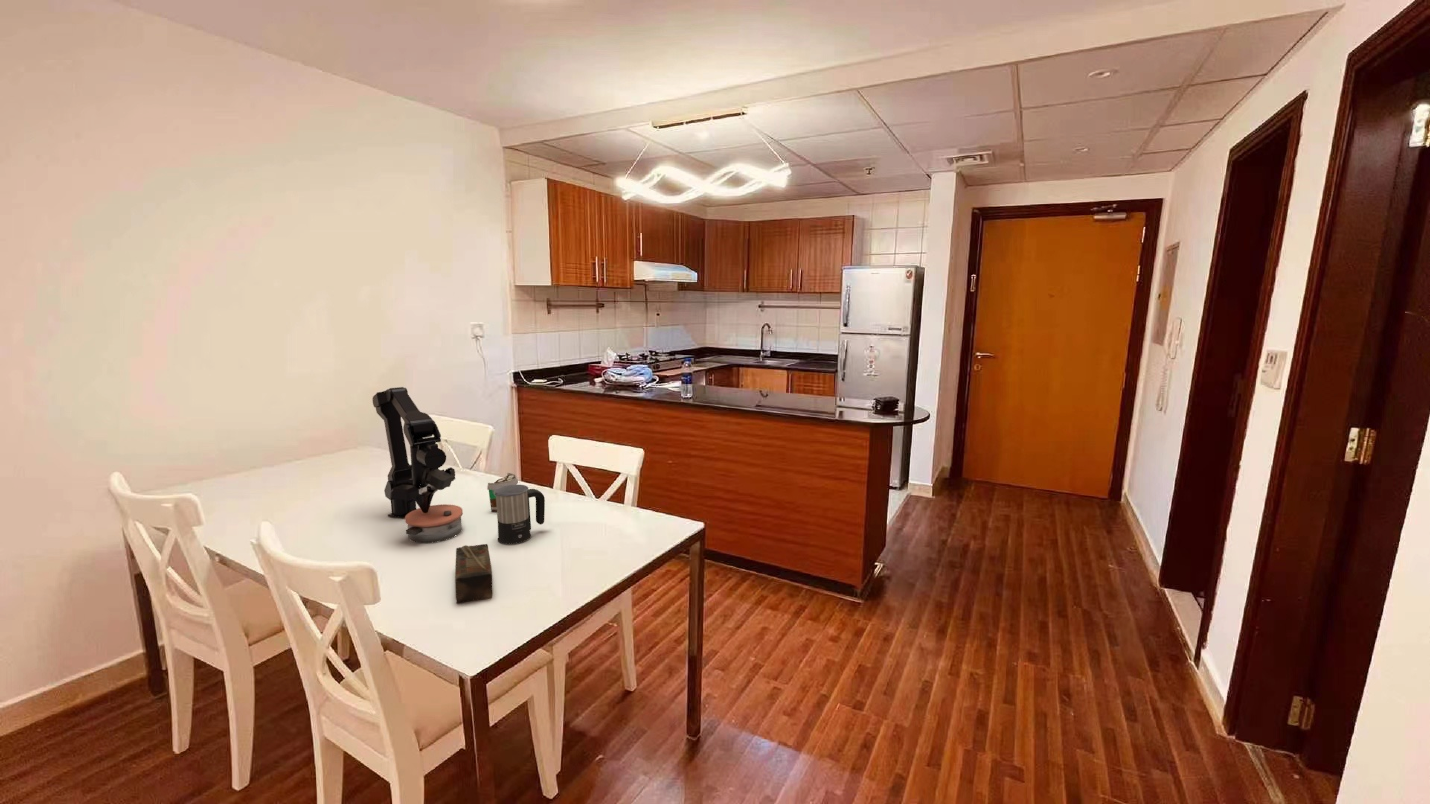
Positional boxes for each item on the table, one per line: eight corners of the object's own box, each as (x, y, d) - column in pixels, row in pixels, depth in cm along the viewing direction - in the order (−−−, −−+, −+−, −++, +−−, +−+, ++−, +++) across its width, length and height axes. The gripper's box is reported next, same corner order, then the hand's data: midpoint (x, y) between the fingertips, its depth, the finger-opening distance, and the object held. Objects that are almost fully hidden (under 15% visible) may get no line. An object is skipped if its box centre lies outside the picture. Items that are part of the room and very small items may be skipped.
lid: (392, 523, 159) (392, 517, 159) (430, 505, 174) (430, 499, 173) (438, 529, 156) (438, 522, 156) (473, 510, 170) (473, 504, 170)
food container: (506, 515, 180) (504, 485, 179) (488, 513, 181) (486, 483, 180) (526, 502, 192) (525, 473, 190) (509, 500, 193) (508, 472, 192)
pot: (390, 543, 158) (388, 526, 157) (437, 518, 176) (436, 503, 175) (433, 549, 155) (432, 531, 154) (477, 523, 173) (476, 508, 172)
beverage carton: (490, 564, 147) (488, 540, 146) (494, 599, 130) (492, 572, 129) (456, 569, 144) (454, 545, 143) (455, 606, 127) (454, 579, 126)
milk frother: (511, 548, 156) (508, 497, 154) (475, 535, 165) (472, 486, 162) (551, 531, 168) (549, 483, 166) (516, 519, 177) (513, 474, 174)
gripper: (422, 473, 152) (425, 528, 155) (468, 455, 170) (470, 504, 172) (387, 469, 154) (391, 523, 157) (436, 451, 172) (439, 500, 175)
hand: (425, 512), depth 165 cm, fingers closed, pressing on lid
